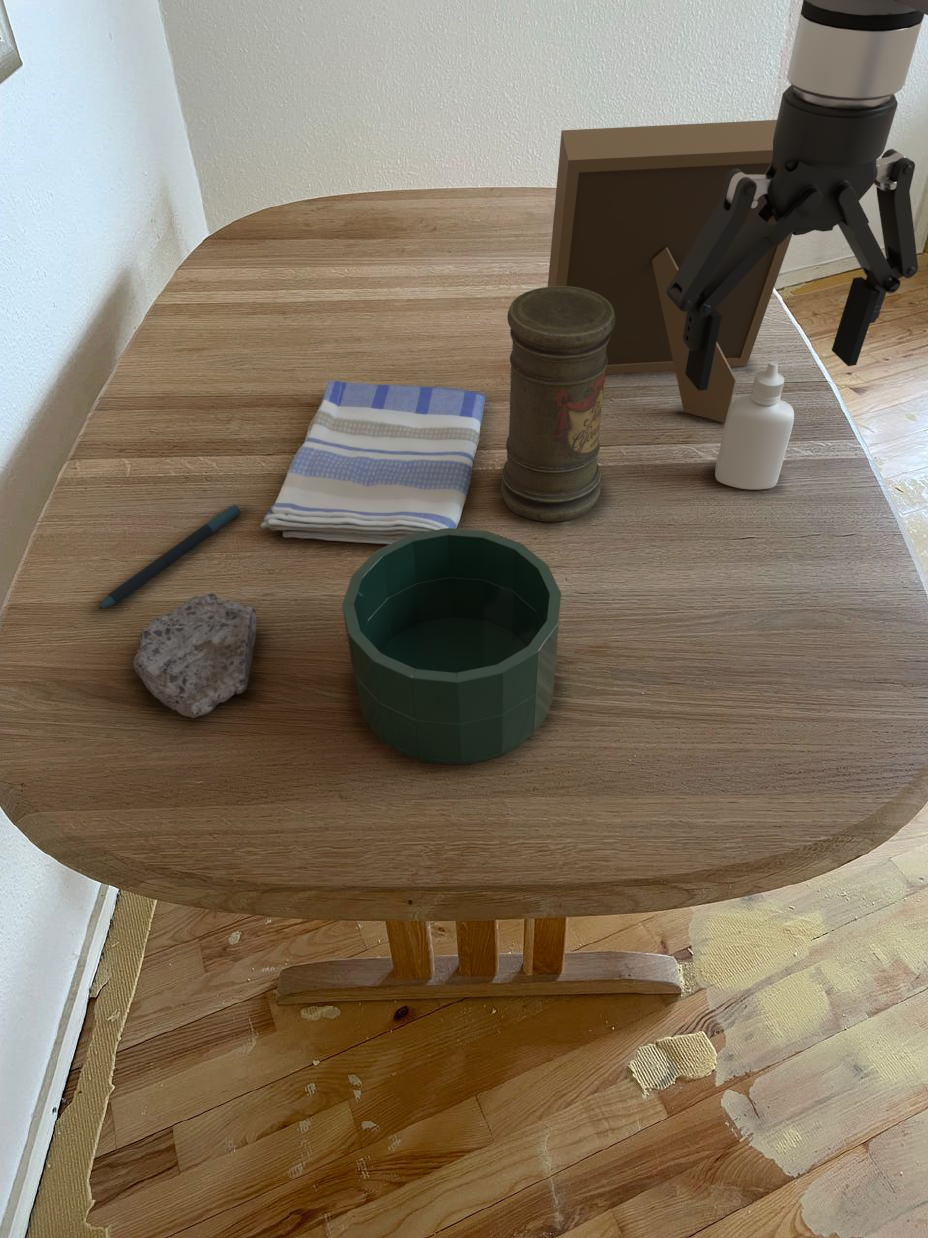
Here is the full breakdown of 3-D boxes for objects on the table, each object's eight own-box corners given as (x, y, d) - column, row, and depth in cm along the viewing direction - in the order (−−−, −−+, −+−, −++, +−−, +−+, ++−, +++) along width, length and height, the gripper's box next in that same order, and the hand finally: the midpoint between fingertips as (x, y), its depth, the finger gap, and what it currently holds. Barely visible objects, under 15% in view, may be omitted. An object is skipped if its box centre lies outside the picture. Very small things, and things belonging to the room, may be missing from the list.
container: (490, 514, 82) (490, 328, 69) (515, 457, 88) (520, 276, 75) (588, 531, 80) (607, 344, 67) (607, 472, 86) (629, 289, 73)
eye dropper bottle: (730, 456, 87) (756, 342, 79) (783, 480, 84) (817, 363, 76) (706, 478, 85) (730, 362, 76) (760, 502, 82) (791, 385, 74)
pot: (580, 739, 64) (591, 654, 58) (377, 785, 62) (364, 701, 56) (520, 599, 74) (523, 513, 68) (343, 634, 72) (329, 548, 65)
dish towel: (260, 540, 80) (254, 515, 78) (328, 394, 96) (324, 371, 94) (454, 557, 78) (453, 532, 76) (490, 405, 94) (490, 381, 92)
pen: (95, 612, 74) (91, 602, 73) (234, 510, 83) (231, 500, 82) (104, 617, 74) (99, 607, 73) (242, 515, 83) (240, 504, 82)
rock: (262, 615, 73) (253, 578, 71) (248, 722, 66) (236, 685, 63) (152, 621, 73) (138, 585, 70) (125, 729, 66) (108, 693, 63)
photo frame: (541, 357, 101) (552, 108, 83) (735, 346, 101) (788, 97, 84) (561, 434, 90) (578, 169, 72) (777, 420, 91) (847, 155, 73)
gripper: (969, 56, 66) (878, 326, 81) (647, 90, 62) (615, 368, 77) (1039, 87, 61) (928, 370, 76) (693, 127, 57) (649, 416, 72)
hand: (770, 369), depth 77 cm, fingers open, 13 cm apart
